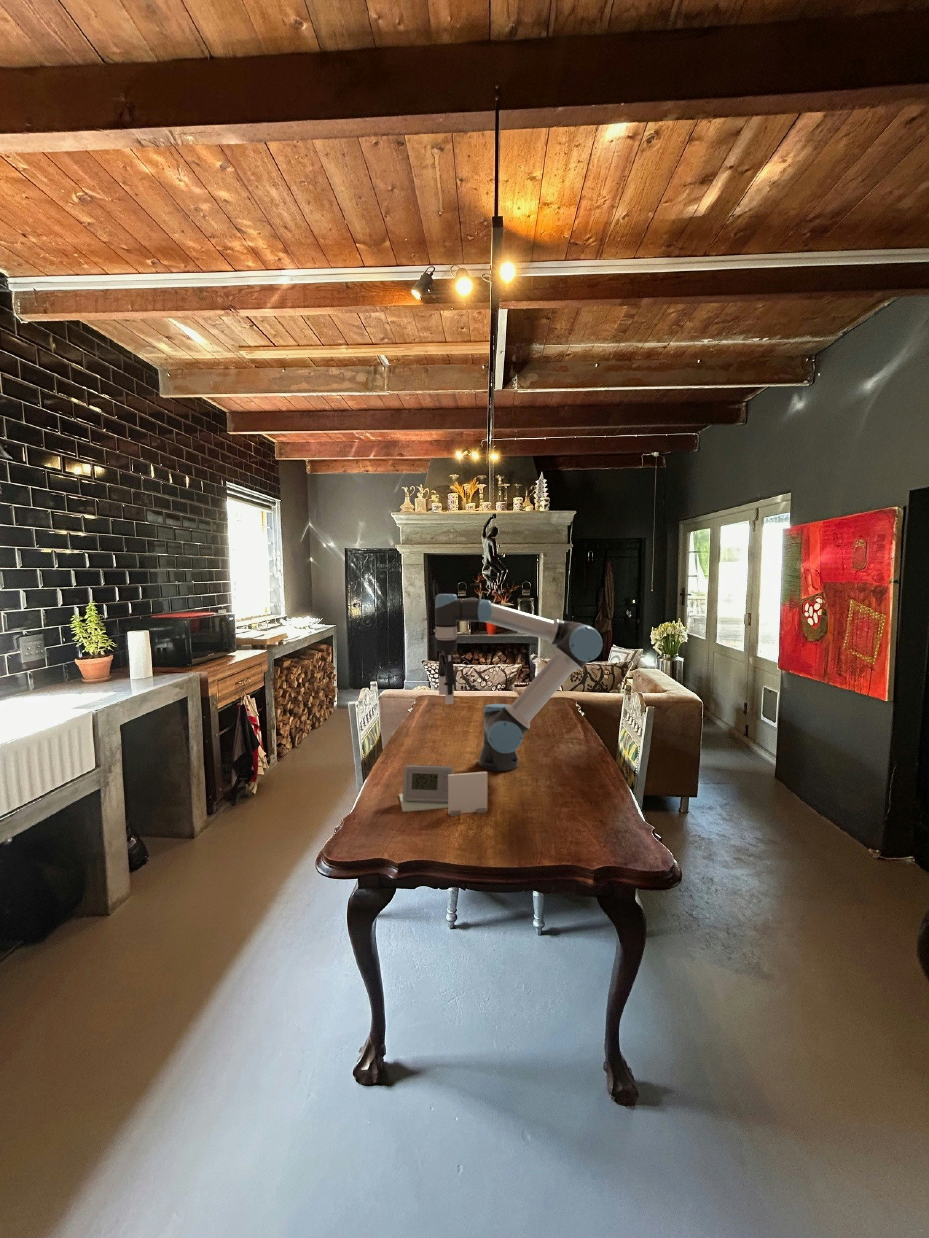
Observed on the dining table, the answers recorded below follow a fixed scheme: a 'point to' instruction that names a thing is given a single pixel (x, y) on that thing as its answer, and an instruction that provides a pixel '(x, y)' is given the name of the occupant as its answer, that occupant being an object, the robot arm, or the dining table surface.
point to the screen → (467, 793)
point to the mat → (420, 805)
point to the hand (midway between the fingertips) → (446, 699)
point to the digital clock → (426, 783)
